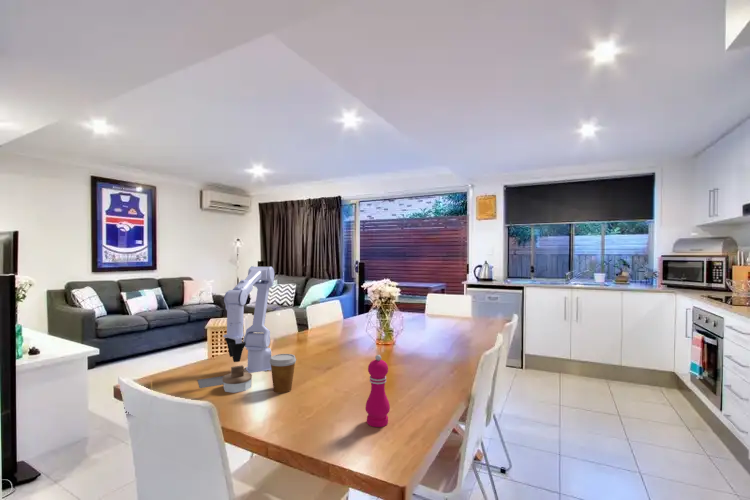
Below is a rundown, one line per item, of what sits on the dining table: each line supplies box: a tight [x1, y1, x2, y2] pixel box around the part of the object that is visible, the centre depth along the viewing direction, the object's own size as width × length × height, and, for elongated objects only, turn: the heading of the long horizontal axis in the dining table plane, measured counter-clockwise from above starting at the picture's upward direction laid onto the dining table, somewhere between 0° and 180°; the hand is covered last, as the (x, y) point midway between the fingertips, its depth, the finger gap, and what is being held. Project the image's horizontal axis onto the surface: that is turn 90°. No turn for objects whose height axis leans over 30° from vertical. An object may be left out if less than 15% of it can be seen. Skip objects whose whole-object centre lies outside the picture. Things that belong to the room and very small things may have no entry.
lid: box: [222, 365, 253, 384], centre depth 134 cm, size 10×10×4 cm
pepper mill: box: [365, 354, 391, 428], centre depth 109 cm, size 7×7×20 cm
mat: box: [197, 375, 224, 389], centre depth 140 cm, size 10×10×1 cm
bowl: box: [223, 379, 253, 394], centre depth 134 cm, size 9×9×4 cm
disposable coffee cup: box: [269, 353, 297, 394], centre depth 134 cm, size 10×10×12 cm
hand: (234, 359), depth 136 cm, fingers open, 7 cm apart
